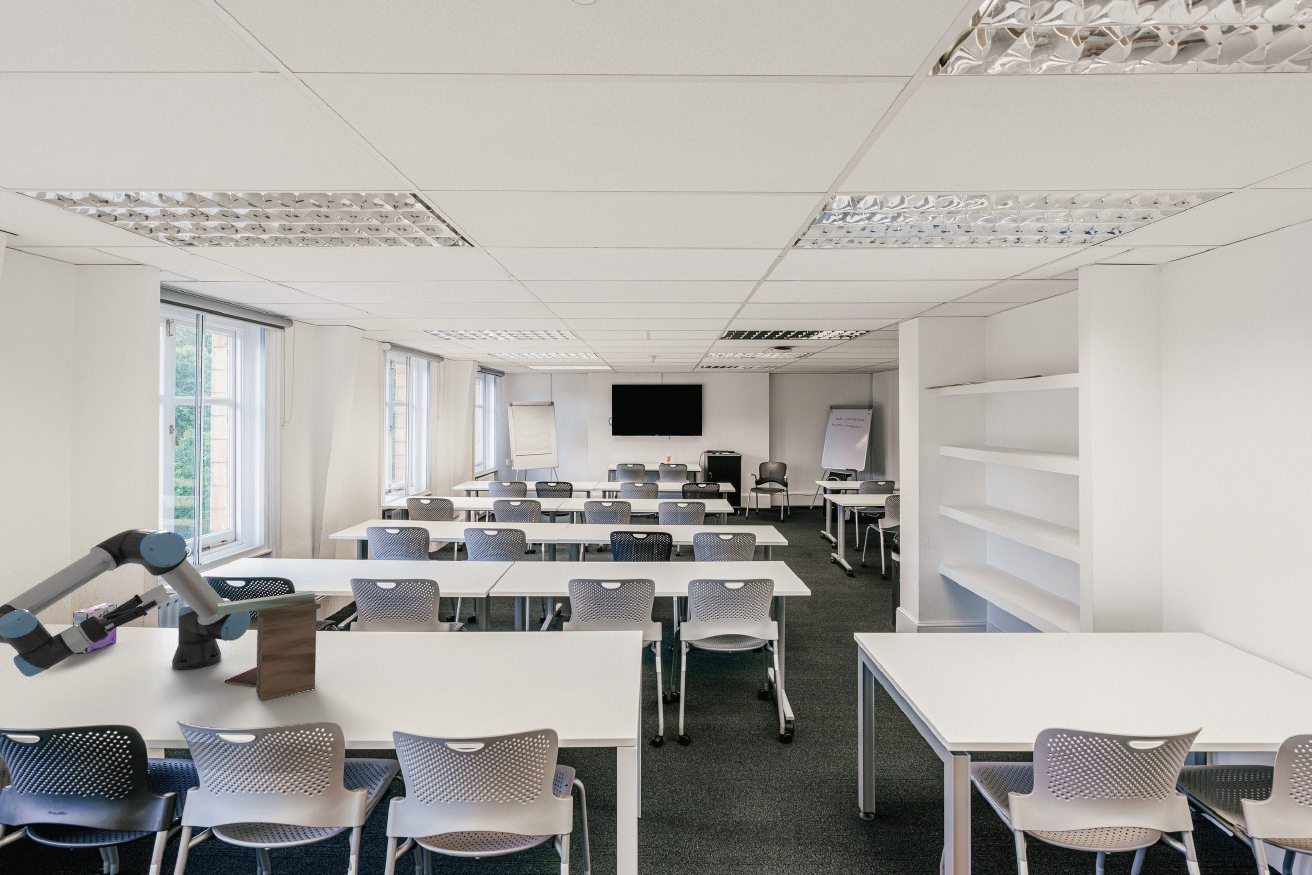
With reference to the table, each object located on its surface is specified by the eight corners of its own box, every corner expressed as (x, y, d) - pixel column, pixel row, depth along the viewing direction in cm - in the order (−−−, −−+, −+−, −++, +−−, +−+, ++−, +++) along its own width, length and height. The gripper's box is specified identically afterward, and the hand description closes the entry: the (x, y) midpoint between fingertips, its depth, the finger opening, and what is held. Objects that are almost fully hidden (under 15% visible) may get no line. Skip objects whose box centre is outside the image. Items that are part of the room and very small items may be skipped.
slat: (216, 612, 203) (216, 603, 203) (312, 599, 221) (312, 590, 221) (217, 615, 200) (218, 606, 199) (314, 601, 218) (314, 593, 218)
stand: (252, 691, 213) (254, 604, 213) (310, 678, 225) (312, 596, 225) (258, 703, 204) (260, 612, 204) (318, 689, 216) (320, 603, 216)
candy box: (86, 653, 243) (86, 612, 243) (71, 653, 243) (72, 611, 243) (117, 642, 257) (117, 602, 257) (103, 641, 257) (103, 602, 257)
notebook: (224, 684, 219) (224, 678, 219) (270, 664, 239) (270, 659, 239) (259, 689, 216) (259, 683, 216) (303, 668, 235) (303, 663, 235)
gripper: (93, 634, 196) (169, 593, 209) (93, 653, 177) (176, 608, 190) (79, 614, 194) (156, 575, 206) (77, 633, 175) (162, 588, 188)
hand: (166, 590), depth 198 cm, fingers open, 13 cm apart
